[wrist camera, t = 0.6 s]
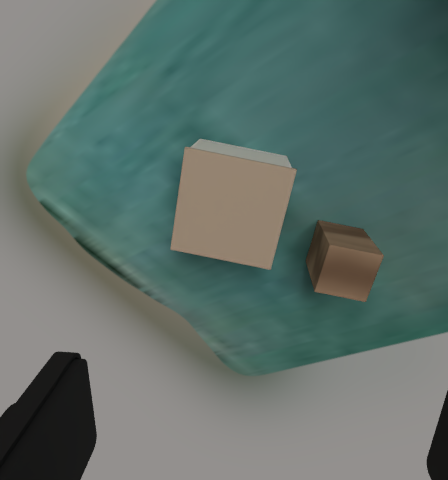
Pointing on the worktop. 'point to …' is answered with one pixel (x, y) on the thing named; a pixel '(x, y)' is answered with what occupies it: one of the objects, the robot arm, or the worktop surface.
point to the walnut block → (342, 261)
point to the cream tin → (231, 203)
